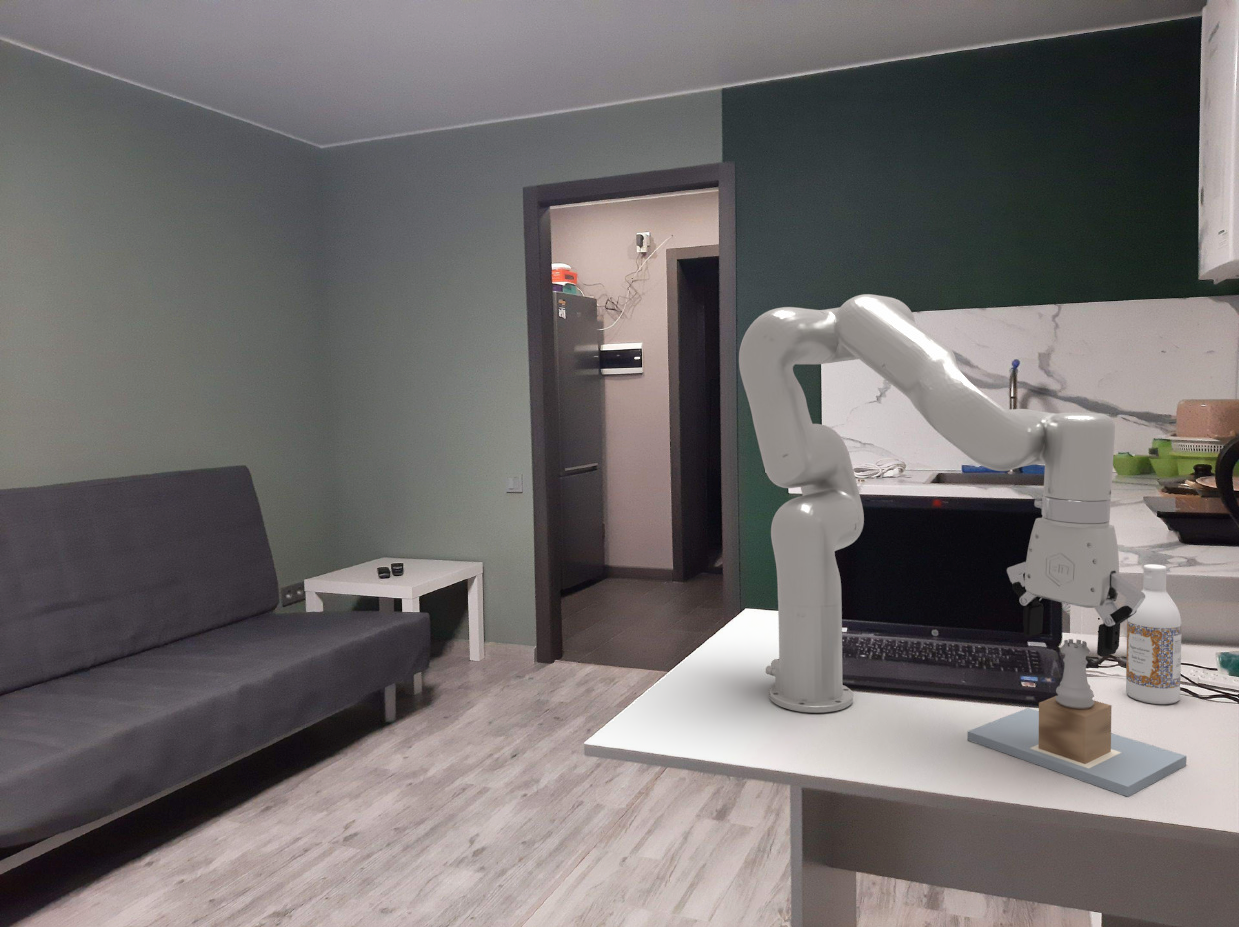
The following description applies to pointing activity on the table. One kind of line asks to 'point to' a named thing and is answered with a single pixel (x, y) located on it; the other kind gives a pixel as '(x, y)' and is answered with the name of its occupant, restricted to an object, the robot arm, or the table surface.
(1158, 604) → the bath foam
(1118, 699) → the table surface
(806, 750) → the table surface
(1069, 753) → the walnut cube
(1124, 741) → the build board
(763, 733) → the table surface
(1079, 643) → the rook chess piece
